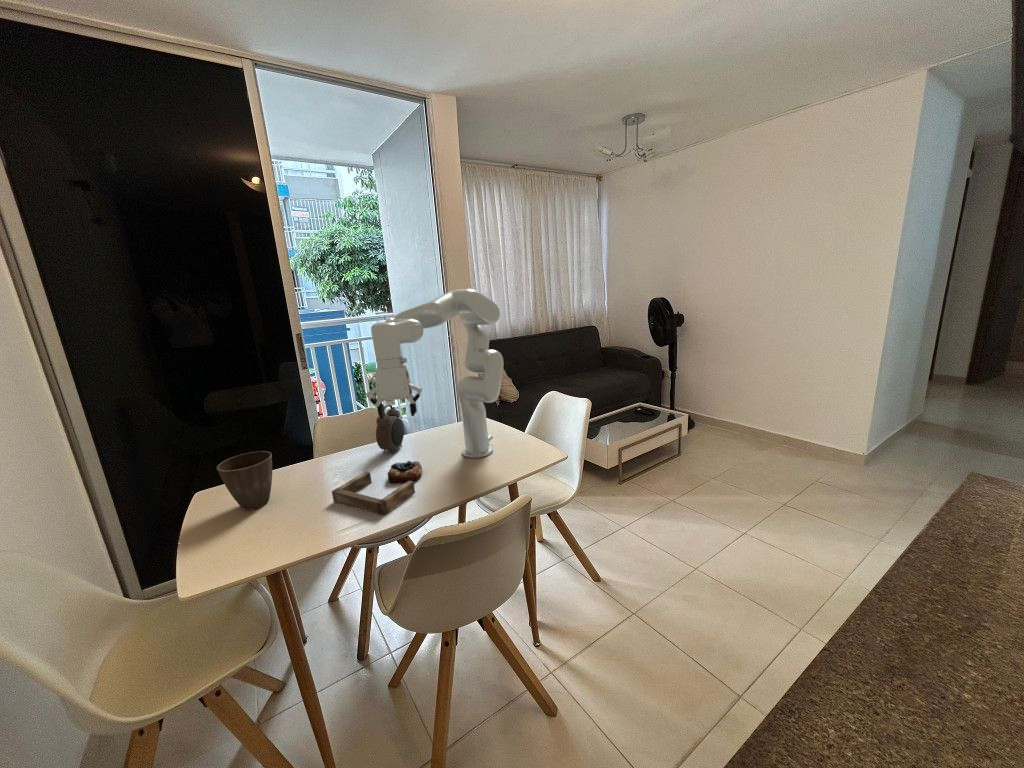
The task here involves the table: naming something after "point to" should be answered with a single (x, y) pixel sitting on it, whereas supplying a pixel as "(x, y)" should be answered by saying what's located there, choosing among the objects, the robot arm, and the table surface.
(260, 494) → the plant pot
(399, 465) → the pastry
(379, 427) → the alarm clock
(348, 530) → the table surface
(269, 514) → the table surface
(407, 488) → the wooden u-shaped frame
